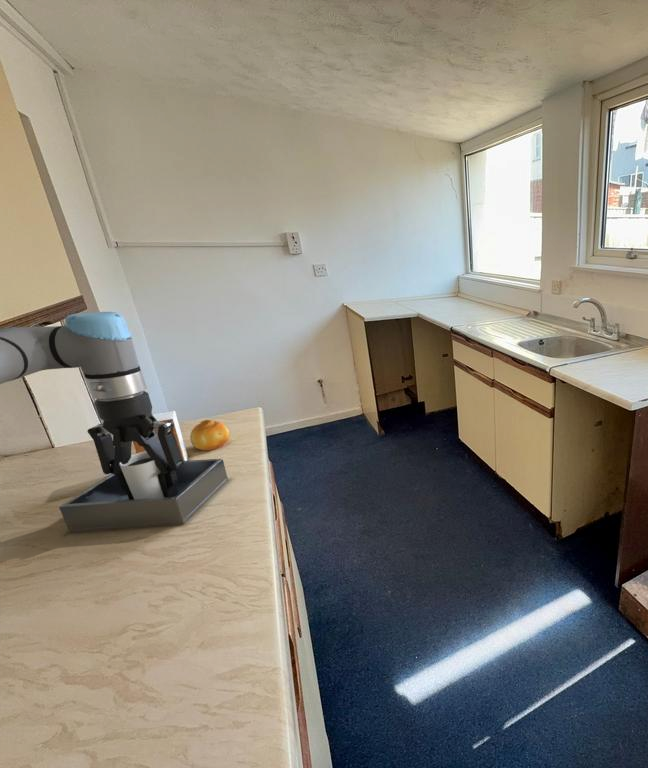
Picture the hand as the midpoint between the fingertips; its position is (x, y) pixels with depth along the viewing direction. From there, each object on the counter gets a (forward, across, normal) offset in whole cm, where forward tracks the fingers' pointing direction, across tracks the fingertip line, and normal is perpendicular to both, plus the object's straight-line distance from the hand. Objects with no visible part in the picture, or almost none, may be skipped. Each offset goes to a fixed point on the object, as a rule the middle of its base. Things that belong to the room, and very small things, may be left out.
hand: (155, 499), depth 82 cm
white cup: (0, 0, 0) cm, 0 cm away
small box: (+2, -9, +17) cm, 19 cm away
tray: (+1, 0, 0) cm, 1 cm away
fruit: (+2, -4, +27) cm, 27 cm away
